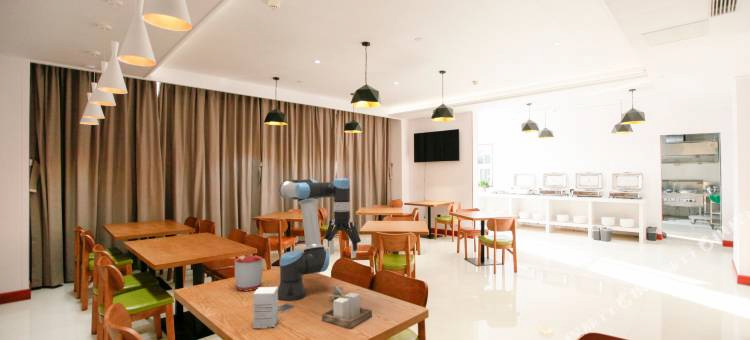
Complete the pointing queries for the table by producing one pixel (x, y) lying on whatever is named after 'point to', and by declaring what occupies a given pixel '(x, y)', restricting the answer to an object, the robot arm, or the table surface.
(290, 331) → the table surface
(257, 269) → the grey bucket
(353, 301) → the white upright block piece
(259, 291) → the supplement box
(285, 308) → the trowel
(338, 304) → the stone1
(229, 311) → the table surface
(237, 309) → the table surface
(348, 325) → the brown wooden tray
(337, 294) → the architectural model
